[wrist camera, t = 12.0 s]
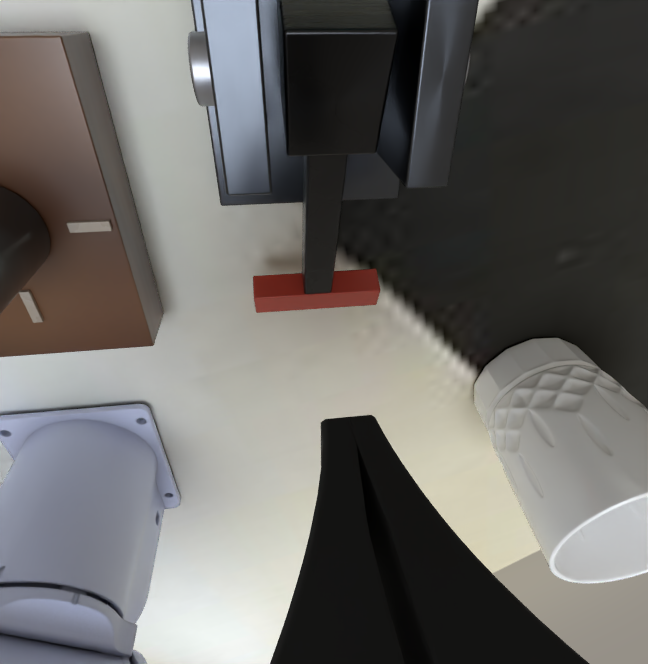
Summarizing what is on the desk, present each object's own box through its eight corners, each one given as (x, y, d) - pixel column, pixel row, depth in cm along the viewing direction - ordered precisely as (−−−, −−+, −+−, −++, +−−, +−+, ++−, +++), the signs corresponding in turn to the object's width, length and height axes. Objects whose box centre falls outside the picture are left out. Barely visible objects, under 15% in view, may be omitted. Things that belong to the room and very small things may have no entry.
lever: (369, 271, 19) (379, 318, 18) (254, 278, 19) (256, 327, 17) (443, -32, 9) (473, 29, 8) (206, -34, 9) (204, 31, 8)
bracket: (391, 188, 18) (466, 290, 12) (222, 195, 18) (201, 307, 11) (423, -164, 12) (615, -364, 6) (170, -173, 12) (55, -412, 5)
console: (164, 313, 21) (153, 348, 18) (-17, 325, 20) (-50, 363, 18) (89, 31, 14) (58, 35, 12) (-185, 33, 13) (-270, 37, 11)
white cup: (500, 318, 23) (627, 479, 15) (618, 337, 25) (785, 488, 17) (442, 419, 28) (516, 585, 20) (546, 428, 29) (652, 583, 22)
